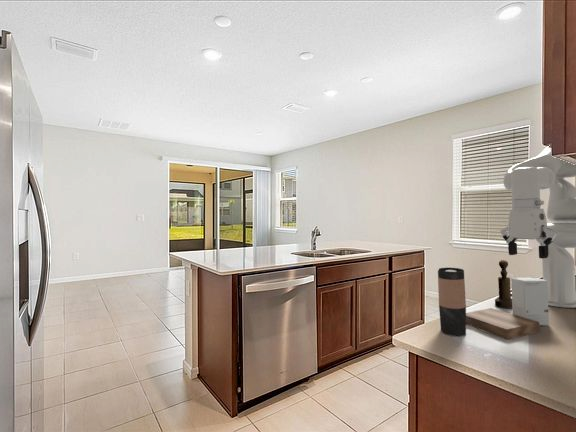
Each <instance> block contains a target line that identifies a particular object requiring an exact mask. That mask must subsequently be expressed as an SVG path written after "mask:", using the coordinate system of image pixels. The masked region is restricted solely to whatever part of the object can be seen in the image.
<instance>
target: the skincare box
mask: <svg viewBox="0 0 576 432" xmlns="http://www.w3.org/2000/svg"><path fill="white" fill-rule="evenodd" d="M510 282H511V298H512V308H511V310H512V314H513V315H517V316H520V317H524V318H527V319H531V320H534V321H538V322H539V326H549V325H550V319H549V318H550V317H549V305H548V284H547V280H543V278H537V277H512V278H510Z"/></svg>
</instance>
